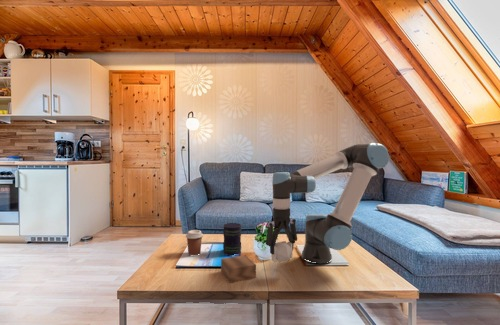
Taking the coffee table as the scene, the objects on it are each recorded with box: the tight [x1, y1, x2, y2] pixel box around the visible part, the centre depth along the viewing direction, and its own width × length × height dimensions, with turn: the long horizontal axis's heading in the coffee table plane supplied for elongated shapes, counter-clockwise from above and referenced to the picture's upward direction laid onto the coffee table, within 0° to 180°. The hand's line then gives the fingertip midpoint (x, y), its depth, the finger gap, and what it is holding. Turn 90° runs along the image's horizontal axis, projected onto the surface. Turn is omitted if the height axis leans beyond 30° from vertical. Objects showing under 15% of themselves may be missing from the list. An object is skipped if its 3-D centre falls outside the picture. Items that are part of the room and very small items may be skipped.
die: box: [275, 240, 294, 263], centre depth 117 cm, size 8×9×10 cm
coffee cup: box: [185, 229, 204, 256], centre depth 143 cm, size 9×9×12 cm
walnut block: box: [220, 255, 257, 284], centre depth 119 cm, size 12×12×6 cm
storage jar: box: [222, 222, 242, 256], centre depth 146 cm, size 10×10×15 cm
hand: (282, 258), depth 118 cm, fingers closed on die, 8 cm apart
